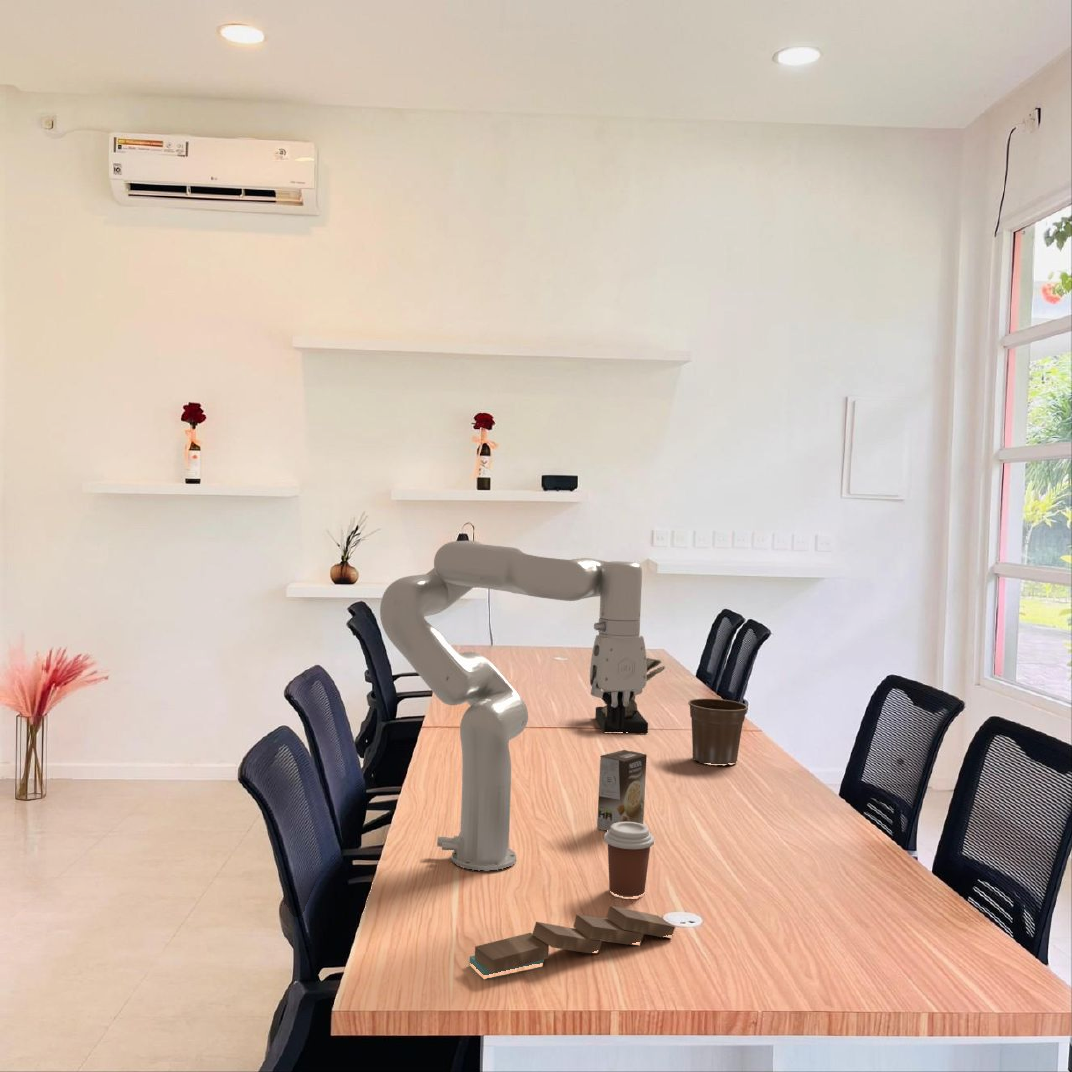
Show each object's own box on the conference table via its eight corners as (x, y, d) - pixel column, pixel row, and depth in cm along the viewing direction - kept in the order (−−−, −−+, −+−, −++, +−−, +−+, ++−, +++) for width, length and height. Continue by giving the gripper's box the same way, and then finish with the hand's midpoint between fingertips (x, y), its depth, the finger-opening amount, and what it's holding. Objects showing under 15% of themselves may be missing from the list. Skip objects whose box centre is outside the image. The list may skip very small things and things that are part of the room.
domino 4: (671, 939, 166) (622, 929, 162) (653, 927, 171) (606, 917, 166) (675, 926, 167) (626, 916, 162) (657, 915, 171) (610, 905, 166)
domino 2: (598, 954, 160) (552, 947, 154) (577, 942, 164) (532, 934, 158) (602, 941, 160) (556, 934, 154) (581, 929, 164) (536, 921, 158)
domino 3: (640, 946, 163) (589, 939, 159) (623, 933, 168) (573, 926, 163) (643, 933, 164) (593, 926, 159) (626, 921, 168) (576, 914, 163)
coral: (594, 716, 338) (596, 651, 338) (655, 717, 339) (658, 653, 338) (601, 733, 313) (604, 663, 313) (667, 735, 314) (670, 665, 313)
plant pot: (742, 756, 291) (744, 699, 290) (748, 770, 275) (751, 711, 274) (684, 752, 293) (686, 696, 292) (687, 767, 276) (689, 707, 276)
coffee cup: (620, 879, 192) (623, 816, 192) (661, 892, 186) (664, 827, 186) (591, 892, 185) (594, 827, 184) (633, 906, 179) (636, 839, 179)
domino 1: (548, 958, 155) (492, 973, 149) (529, 945, 159) (474, 959, 153) (548, 945, 155) (492, 959, 149) (530, 932, 159) (475, 946, 153)
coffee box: (620, 836, 217) (623, 761, 216) (596, 829, 221) (599, 755, 220) (644, 826, 224) (647, 754, 223) (620, 820, 228) (623, 748, 227)
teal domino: (543, 971, 155) (483, 983, 150) (527, 957, 159) (469, 969, 154) (543, 958, 155) (484, 970, 150) (528, 945, 159) (469, 956, 154)
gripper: (595, 632, 182) (591, 734, 183) (664, 629, 189) (660, 728, 190) (574, 626, 189) (570, 725, 189) (641, 624, 196) (637, 720, 196)
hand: (615, 726), depth 190 cm, fingers closed
